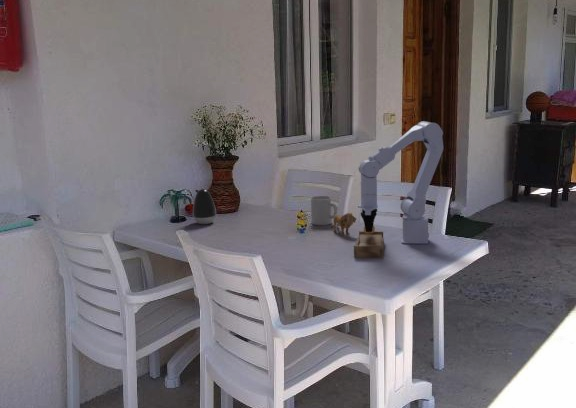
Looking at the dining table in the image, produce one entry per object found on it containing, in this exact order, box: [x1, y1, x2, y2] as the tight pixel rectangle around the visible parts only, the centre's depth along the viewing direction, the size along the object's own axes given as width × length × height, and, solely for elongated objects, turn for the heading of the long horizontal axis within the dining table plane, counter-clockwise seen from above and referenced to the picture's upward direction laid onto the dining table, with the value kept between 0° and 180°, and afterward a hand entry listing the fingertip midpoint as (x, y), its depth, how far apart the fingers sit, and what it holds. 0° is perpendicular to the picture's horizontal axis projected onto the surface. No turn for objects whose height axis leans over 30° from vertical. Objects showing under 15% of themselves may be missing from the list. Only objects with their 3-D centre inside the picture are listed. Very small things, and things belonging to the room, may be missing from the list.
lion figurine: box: [330, 212, 357, 236], centre depth 234 cm, size 15×5×9 cm, turn 33°
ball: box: [363, 225, 376, 235], centre depth 216 cm, size 4×4×4 cm
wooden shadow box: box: [353, 230, 385, 259], centre depth 211 cm, size 10×19×4 cm, turn 169°
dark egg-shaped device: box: [192, 188, 217, 225], centre depth 259 cm, size 10×10×15 cm
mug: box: [310, 195, 338, 226], centre depth 250 cm, size 12×8×11 cm
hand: (369, 230), depth 216 cm, fingers closed on ball, 4 cm apart
